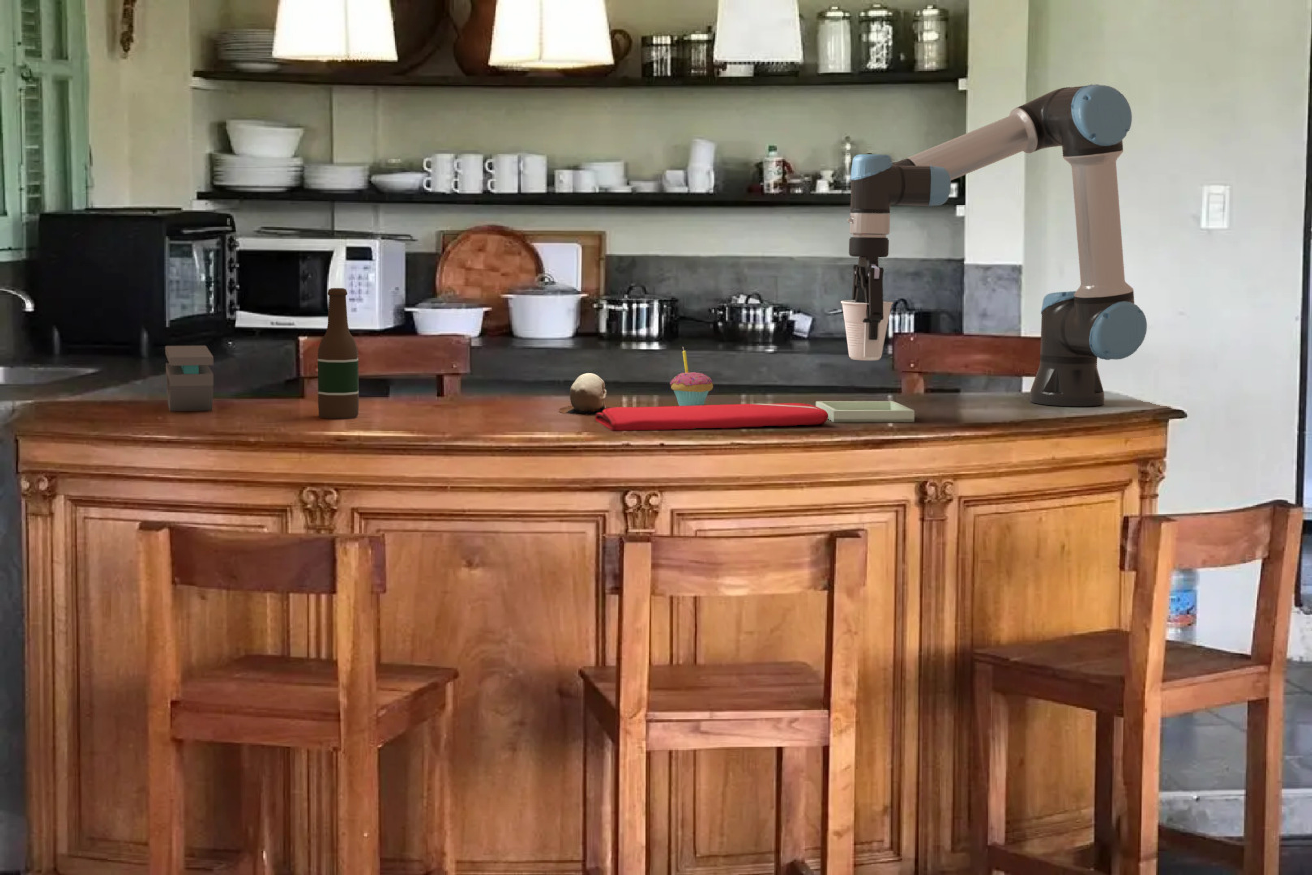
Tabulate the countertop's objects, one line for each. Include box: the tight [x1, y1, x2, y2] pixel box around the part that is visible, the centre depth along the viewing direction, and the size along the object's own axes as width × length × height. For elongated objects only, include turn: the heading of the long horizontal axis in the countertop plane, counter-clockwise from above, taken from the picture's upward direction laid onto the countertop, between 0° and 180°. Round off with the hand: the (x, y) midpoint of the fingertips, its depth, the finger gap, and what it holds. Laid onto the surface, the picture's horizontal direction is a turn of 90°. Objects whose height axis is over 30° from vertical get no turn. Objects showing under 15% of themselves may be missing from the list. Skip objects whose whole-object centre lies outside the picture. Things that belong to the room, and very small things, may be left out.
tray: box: [815, 400, 915, 423], centre depth 359 cm, size 16×16×2 cm
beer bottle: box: [317, 287, 360, 420], centre depth 347 cm, size 8×8×24 cm
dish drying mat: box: [594, 402, 828, 432], centre depth 346 cm, size 16×41×4 cm, turn 103°
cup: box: [840, 299, 894, 361], centre depth 357 cm, size 10×10×11 cm
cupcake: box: [669, 346, 714, 406], centre depth 371 cm, size 9×8×12 cm
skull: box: [558, 372, 616, 416], centre depth 362 cm, size 12×10×10 cm
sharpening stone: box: [164, 345, 214, 412], centre depth 360 cm, size 25×8×11 cm, turn 17°
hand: (865, 354), depth 357 cm, fingers closed on cup, 8 cm apart
